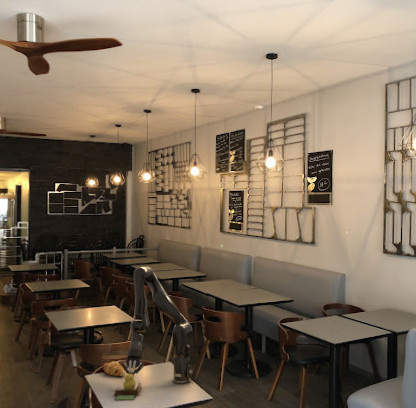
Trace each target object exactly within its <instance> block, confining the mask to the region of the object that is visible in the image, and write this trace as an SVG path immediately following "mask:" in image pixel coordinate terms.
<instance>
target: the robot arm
mask: <svg viewBox="0 0 416 408" xmlns="http://www.w3.org/2000/svg"><path fill="white" fill-rule="evenodd" d="M145 283H146V284H147V286H148V287H149V289H150V291H151V295H152V301H153V303H154V305H155V306H156V308H157V309H158V310H159V312H160V313H161V314H163V315H164V316H165V317H167V318H169V319H170V320H171V321H172V322H173V324H174V326H173V328H172V333H171V337H172V339H171V340H172V347H173V378H172V379H173V382H174V383H176V384H186V383H190V380H191V381H193V380H194V379H195V374H194V373H193V369H191V358H190V357H191V346H190V345H189V344H187V339H188V338H190V337H191V336H192V335H193V327H192V325H191V324H190V322H189V320H187V319H186V317H185V316H184V315H183V314H182V313H181V311H180V310H179V309H178V307H177V306H176V304H175V303H174V301H173V300H172V298H171V297H170V296H169V294H168V293H167V291H166V290H165V289H164V287H163V285H162V284H161V283H160V281H159V279H158V278H157V276H156V273H155V272H154V269H152V268H151V267H150V266H146V265H145V266H139V267H136V268H135V270H134V271H133V284H134V298H135V299H134V316H135V317H138V318H140V319H133V320H131V322H130V332H131V337H130V343H129V346H128V352H127V358H126V360H125V362H121V366H122V367H123V368H124V371H125V374H129V371H130V374H132V375H133V376H134V377H135V374H136V375H137V374H139V373H140V371H141V370H143V368H144V367H145V364H144V363H142V360H141V359H142V353H143V343H144V335H143V334H142V333H145V332H147V331H148V329H149V321H148V318H147V308H148V301H147V296H146V294H145ZM127 367H128V368H127Z"/></svg>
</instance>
